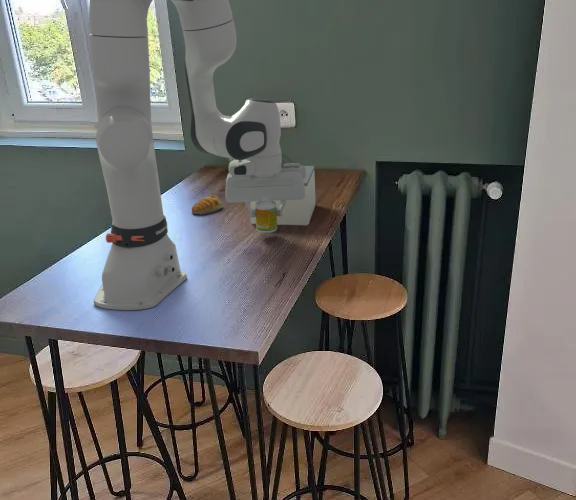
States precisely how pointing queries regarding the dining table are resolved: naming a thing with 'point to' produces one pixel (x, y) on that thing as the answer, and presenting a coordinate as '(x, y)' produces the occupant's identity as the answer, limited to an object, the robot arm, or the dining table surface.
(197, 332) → the dining table surface
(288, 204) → the hole box
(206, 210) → the pastry
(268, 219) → the supplement bottle
